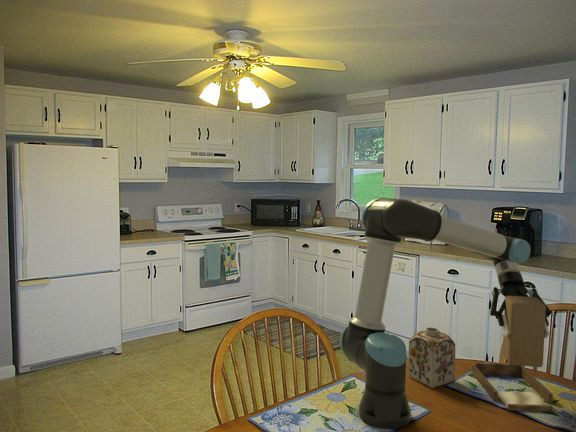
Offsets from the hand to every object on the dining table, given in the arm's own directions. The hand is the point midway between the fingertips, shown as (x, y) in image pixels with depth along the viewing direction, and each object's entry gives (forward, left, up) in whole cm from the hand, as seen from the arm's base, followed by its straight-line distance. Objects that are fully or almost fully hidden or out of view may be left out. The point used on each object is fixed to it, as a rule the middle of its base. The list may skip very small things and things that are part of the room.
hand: (527, 335), depth 150 cm
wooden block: (0, +3, -9) cm, 10 cm away
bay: (0, +9, -22) cm, 24 cm away
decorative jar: (-25, +17, -22) cm, 37 cm away
